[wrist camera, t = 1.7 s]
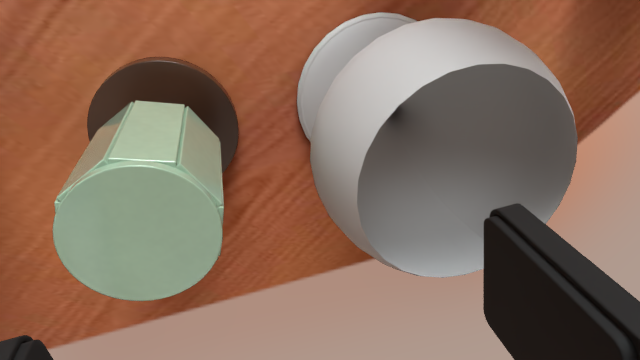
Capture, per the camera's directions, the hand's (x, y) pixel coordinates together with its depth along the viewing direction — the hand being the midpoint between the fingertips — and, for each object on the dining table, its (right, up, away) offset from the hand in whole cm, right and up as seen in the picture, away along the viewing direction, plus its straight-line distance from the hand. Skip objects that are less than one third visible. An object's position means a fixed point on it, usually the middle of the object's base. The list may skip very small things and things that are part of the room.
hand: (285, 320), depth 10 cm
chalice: (+5, +10, +26) cm, 28 cm away
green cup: (-9, +4, +19) cm, 21 cm away
